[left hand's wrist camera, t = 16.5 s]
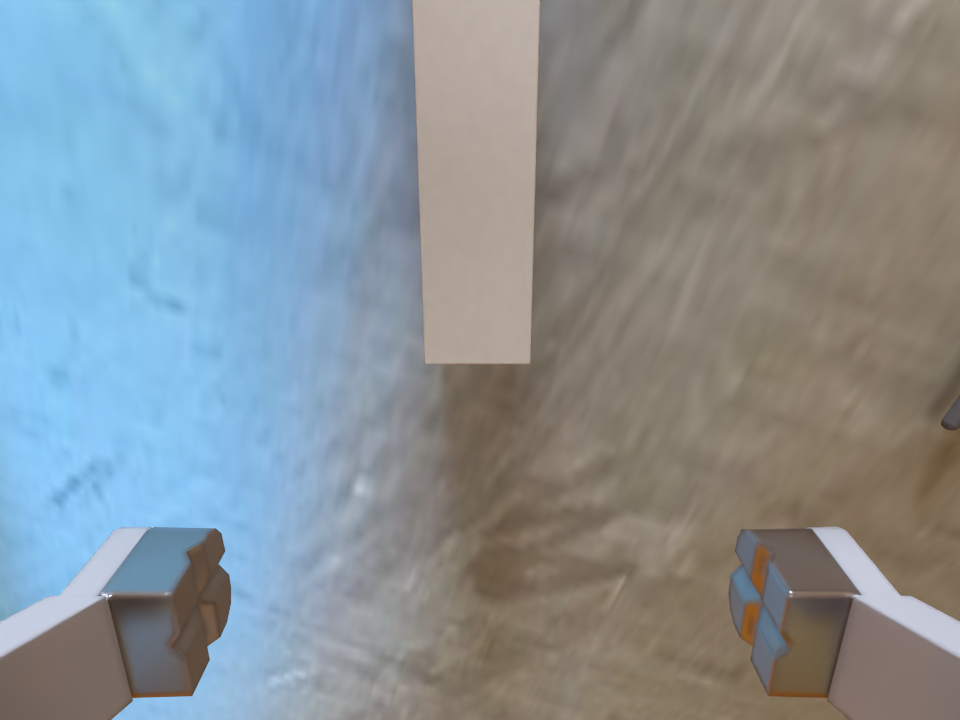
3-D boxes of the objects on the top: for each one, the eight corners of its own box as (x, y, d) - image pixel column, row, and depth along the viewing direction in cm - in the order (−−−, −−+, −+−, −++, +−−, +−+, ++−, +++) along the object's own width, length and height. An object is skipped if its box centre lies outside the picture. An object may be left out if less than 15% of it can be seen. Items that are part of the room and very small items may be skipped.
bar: (518, 299, 38) (530, 364, 29) (437, 299, 38) (424, 364, 29) (531, -329, 28) (554, -522, 19) (421, -329, 28) (393, -522, 19)
